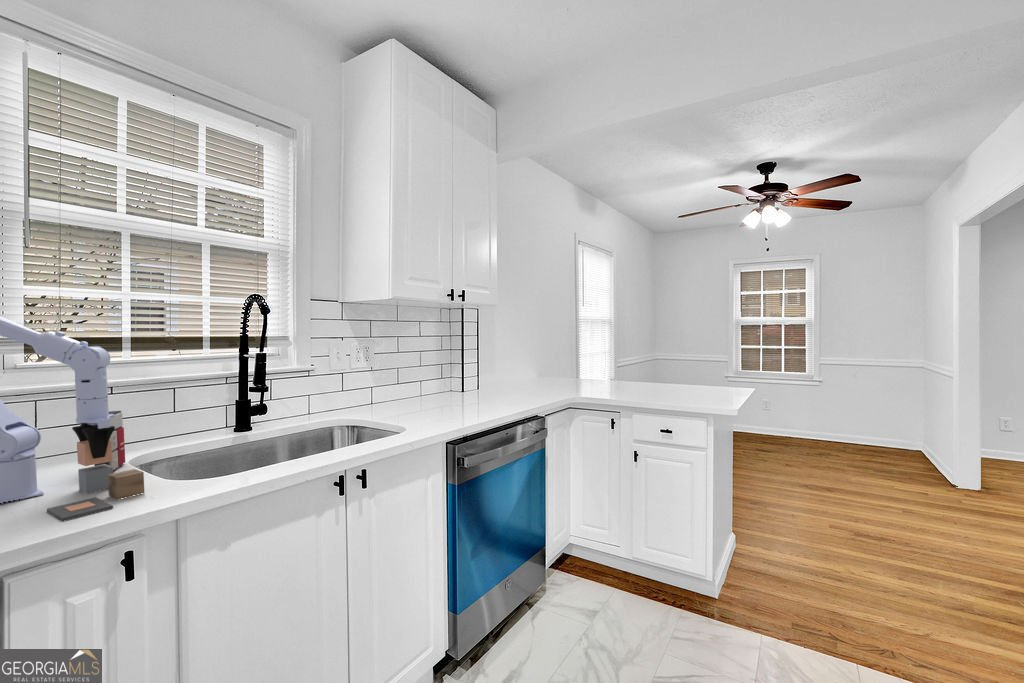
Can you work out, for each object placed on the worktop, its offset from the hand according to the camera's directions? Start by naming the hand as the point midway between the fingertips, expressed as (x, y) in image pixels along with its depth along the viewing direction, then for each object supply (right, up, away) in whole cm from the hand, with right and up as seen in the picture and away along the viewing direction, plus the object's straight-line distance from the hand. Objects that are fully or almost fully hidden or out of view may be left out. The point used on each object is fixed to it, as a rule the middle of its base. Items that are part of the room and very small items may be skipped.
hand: (94, 456), depth 117 cm
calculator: (-10, -8, +17) cm, 21 cm away
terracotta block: (0, -2, 0) cm, 2 cm away
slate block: (0, -8, 0) cm, 8 cm away
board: (+9, -8, -14) cm, 18 cm away
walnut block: (+11, -8, -5) cm, 14 cm away
